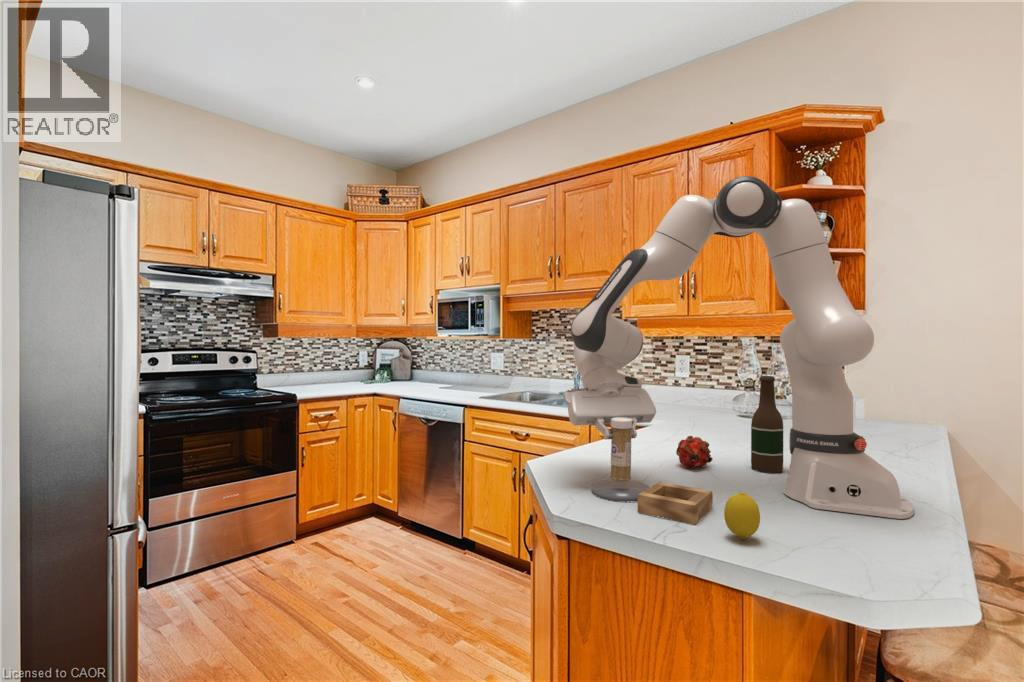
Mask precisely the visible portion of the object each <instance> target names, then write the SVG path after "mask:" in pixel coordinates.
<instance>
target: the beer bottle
mask: <svg viewBox="0 0 1024 682" xmlns="http://www.w3.org/2000/svg"><path fill="white" fill-rule="evenodd" d="M759 381H760V386H759V387H760V389H759V402H758V408H757V409H756V410H755V412H753V415H752V418H751V423H750V425H751V426H750V433H751V434H750V446H751V447H750V448H751V449H750V464H751V465H750V466H751V470H753V471H756V472H758V473H764V474H773V475H774V474H781V473H782V472H783V470H784V420H783V417H782V415H781V412H780V411H779V410H778V408H777V406H776V404H777V403H776V395H775V382H776V378H775V376H773V375H762V376H760V378H759Z"/></svg>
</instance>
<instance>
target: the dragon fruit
mask: <svg viewBox="0 0 1024 682" xmlns="http://www.w3.org/2000/svg"><path fill="white" fill-rule="evenodd" d="M709 447H710V443H709V442H708V441H706V440H703V439H702V438H701V437H699V436H698V437H697V436H695V437H694V435H688V436H687V437H686V438H685V439H681V440H680V441H679V442H678V444H677V449H676V450H675V451H676V456H678V461H679V463H680V464H683V466H684V467H685V468H686V469H687V470H692V469H694V468H695V467H698V468H701V469H702V468H704V467H705V466H706V465H707V464H709V463H711V462H712V461H713V457H712V455H711V454H710V453H711V452H712V451H711V450H710V448H709Z"/></svg>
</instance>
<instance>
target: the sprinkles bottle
mask: <svg viewBox="0 0 1024 682" xmlns="http://www.w3.org/2000/svg"><path fill="white" fill-rule="evenodd" d="M631 428H632V420H631V419H630V418H624V417H615V418H612V419H611V424H610V429H611V430H612V433H613V437H612V439H610V440H611V441H610V443H611V444H610V445H611V447H610V477H609V478H610V480H614V481H618V482H626V481H632V475H631V471H632V470H631V469H632V438H631Z"/></svg>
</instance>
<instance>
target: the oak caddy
mask: <svg viewBox="0 0 1024 682" xmlns="http://www.w3.org/2000/svg"><path fill="white" fill-rule="evenodd" d="M713 492H714V491H713V490H708V489H703V488H696V487H691V486H685V485H681V484H680V485H679V484H673V483H668V482H663V481H657V482H656V483H654V484H653V485H651V486H649V488H648V489H646V490H644V491H643V492H641V493H639V494H638V502H637V513H638V512H641V513H640V514H642V513H645V514H644V515H647V514H649V515H648V516H652V515H654V516H653V517H656V516H659V517H658V518H661V517H664V518H663V519H665V518H667V519H666V520H670V519H672V521H675V520H676V521H675V522H679V523H684V522H685V523H684V524H689V525H693V524H694V525H696V524H697V523H698V522H699V520H700V519H701V518H702V517H703V516H704V515H705V514H706V513H707V514H709V513H710V512H711V511H712V510H711V509H712V508H713V500H714V499H713V498H714V497H713ZM707 514H706V515H707ZM706 515H705V516H706ZM705 516H704V517H705ZM704 517H703V518H704ZM703 518H702V519H703ZM700 521H701V520H700Z"/></svg>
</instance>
